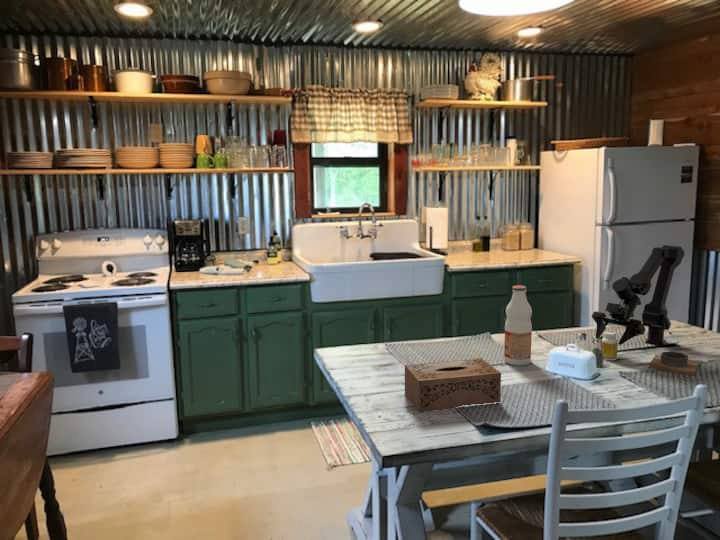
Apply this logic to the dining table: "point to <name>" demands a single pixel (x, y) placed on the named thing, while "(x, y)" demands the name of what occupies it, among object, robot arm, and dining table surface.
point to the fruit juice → (518, 329)
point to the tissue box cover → (451, 384)
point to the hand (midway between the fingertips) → (607, 341)
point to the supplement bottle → (609, 346)
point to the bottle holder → (674, 363)
